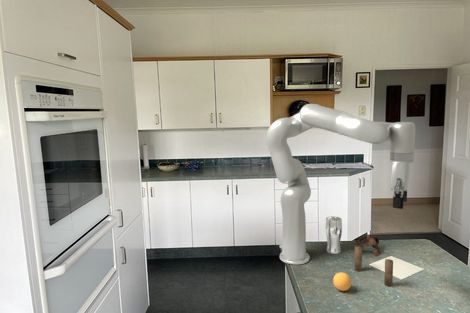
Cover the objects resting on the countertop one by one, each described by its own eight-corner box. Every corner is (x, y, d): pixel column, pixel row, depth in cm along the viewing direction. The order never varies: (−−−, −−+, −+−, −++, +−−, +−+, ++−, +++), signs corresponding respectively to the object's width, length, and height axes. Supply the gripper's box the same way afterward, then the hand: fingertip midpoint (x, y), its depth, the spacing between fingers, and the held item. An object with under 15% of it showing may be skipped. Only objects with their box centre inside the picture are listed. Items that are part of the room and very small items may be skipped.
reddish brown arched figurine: (374, 260, 134) (363, 242, 135) (357, 261, 142) (348, 244, 143) (389, 245, 140) (379, 228, 141) (372, 248, 148) (363, 232, 149)
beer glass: (342, 254, 138) (343, 221, 136) (326, 254, 140) (326, 221, 138) (340, 248, 145) (341, 216, 143) (324, 247, 147) (325, 215, 145)
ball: (329, 288, 113) (329, 272, 112) (341, 283, 116) (341, 267, 115) (342, 296, 108) (342, 279, 107) (355, 290, 110) (355, 274, 110)
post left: (353, 269, 125) (353, 247, 124) (357, 267, 127) (357, 246, 126) (358, 272, 123) (358, 249, 122) (363, 270, 124) (363, 248, 123)
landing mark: (369, 264, 129) (369, 264, 129) (391, 256, 135) (391, 255, 135) (401, 279, 117) (401, 279, 117) (424, 269, 123) (424, 269, 123)
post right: (382, 284, 114) (383, 260, 113) (387, 282, 115) (388, 258, 114) (389, 287, 112) (390, 263, 111) (394, 285, 113) (394, 261, 112)
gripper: (393, 153, 121) (392, 197, 124) (385, 160, 107) (384, 209, 110) (416, 154, 117) (414, 200, 119) (411, 161, 103) (408, 212, 105)
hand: (399, 204), depth 115 cm, fingers open, 9 cm apart
